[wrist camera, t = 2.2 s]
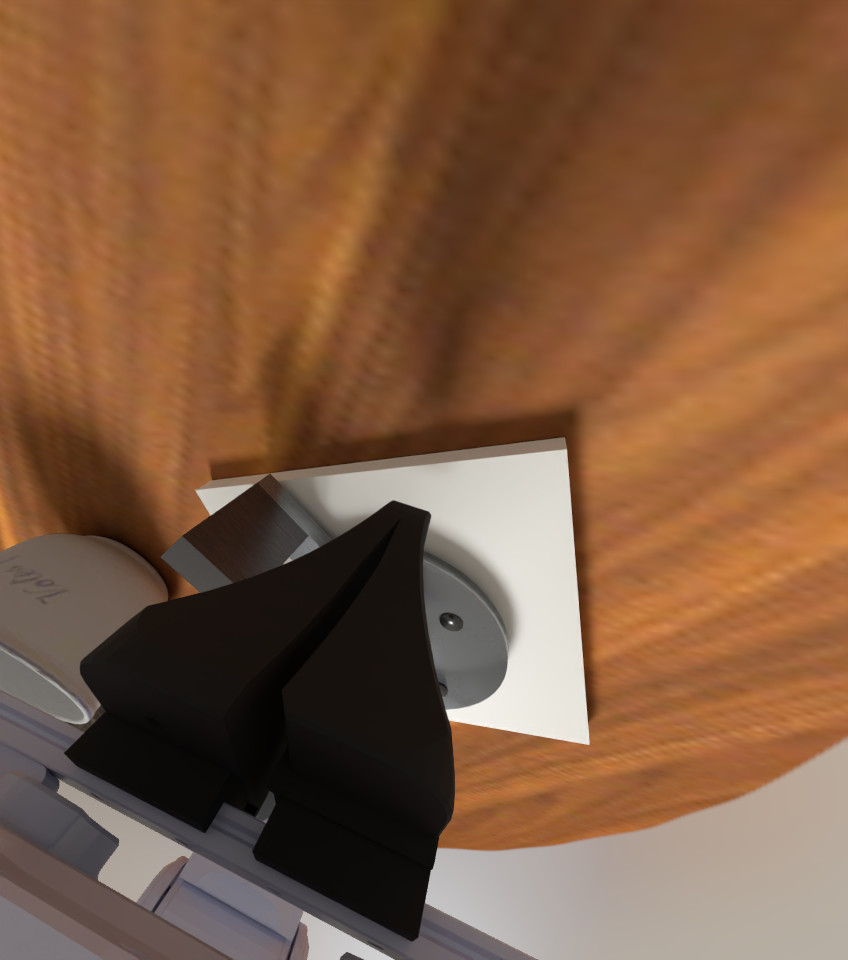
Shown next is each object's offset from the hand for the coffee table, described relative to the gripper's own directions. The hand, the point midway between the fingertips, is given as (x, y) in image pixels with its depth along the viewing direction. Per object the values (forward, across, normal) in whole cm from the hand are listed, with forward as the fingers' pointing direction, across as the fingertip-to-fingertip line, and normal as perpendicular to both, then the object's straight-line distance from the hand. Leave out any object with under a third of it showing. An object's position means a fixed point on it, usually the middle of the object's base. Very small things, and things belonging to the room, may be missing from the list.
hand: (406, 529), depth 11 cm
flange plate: (+2, +2, +7) cm, 7 cm away
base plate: (+3, 0, +8) cm, 9 cm away
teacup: (+3, +22, +16) cm, 27 cm away
